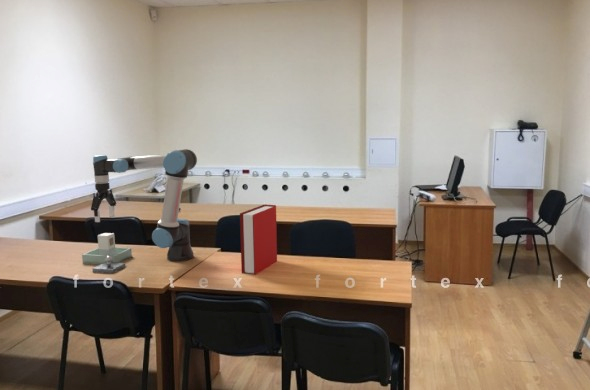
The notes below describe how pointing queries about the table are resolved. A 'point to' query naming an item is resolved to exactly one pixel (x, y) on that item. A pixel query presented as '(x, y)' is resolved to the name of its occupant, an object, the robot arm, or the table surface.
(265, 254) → the book
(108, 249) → the white grey block
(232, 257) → the table surface
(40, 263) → the table surface
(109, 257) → the stud block
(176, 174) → the robot arm
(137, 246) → the table surface
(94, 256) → the bin
